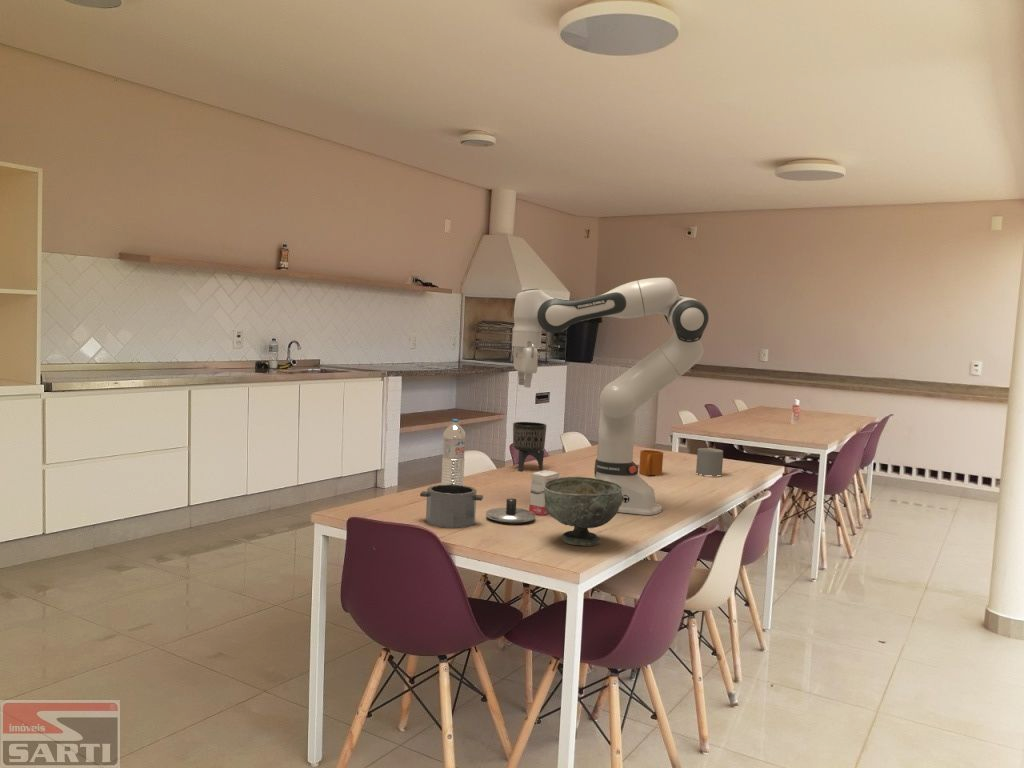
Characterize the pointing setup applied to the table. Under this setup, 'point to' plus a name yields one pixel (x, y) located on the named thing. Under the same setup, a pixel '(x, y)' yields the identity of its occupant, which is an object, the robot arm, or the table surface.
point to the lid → (510, 513)
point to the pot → (451, 505)
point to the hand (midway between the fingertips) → (524, 386)
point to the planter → (529, 441)
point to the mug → (651, 462)
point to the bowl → (582, 505)
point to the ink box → (540, 490)
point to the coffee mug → (709, 461)
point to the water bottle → (453, 455)
